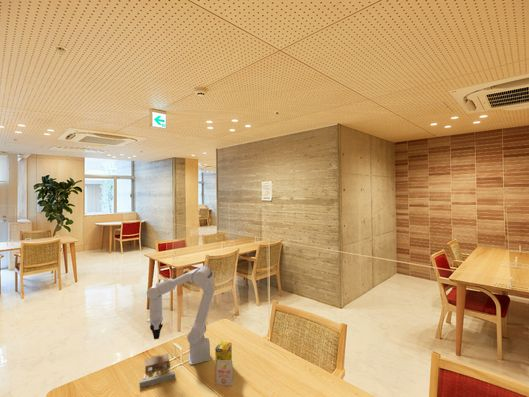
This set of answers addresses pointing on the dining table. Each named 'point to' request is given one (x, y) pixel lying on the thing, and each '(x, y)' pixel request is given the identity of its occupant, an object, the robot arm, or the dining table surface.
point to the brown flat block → (156, 363)
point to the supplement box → (223, 351)
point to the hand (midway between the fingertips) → (156, 336)
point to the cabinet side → (157, 379)
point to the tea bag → (224, 373)
